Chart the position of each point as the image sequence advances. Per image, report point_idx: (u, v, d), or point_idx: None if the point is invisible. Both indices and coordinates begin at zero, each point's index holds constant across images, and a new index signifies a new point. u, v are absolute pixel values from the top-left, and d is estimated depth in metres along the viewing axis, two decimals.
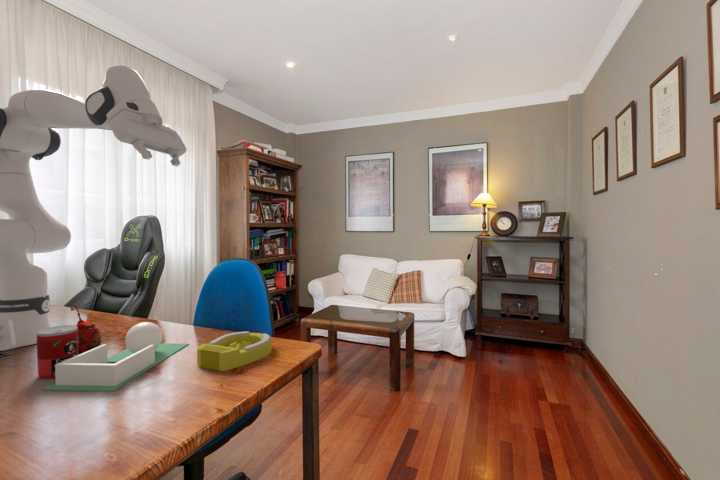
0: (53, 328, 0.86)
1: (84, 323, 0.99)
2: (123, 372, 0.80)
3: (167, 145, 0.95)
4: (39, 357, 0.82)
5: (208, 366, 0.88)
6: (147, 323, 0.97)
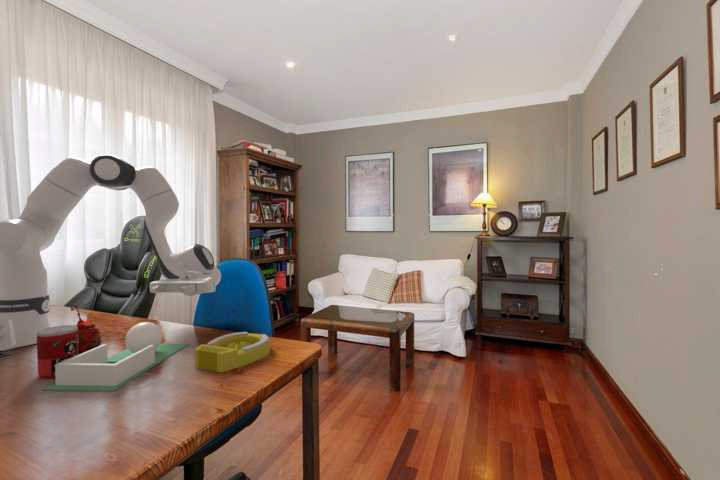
0: (53, 328, 0.86)
1: (84, 323, 0.99)
2: (123, 372, 0.80)
3: (170, 292, 1.14)
4: (39, 357, 0.82)
5: (206, 367, 0.87)
6: (147, 323, 0.97)
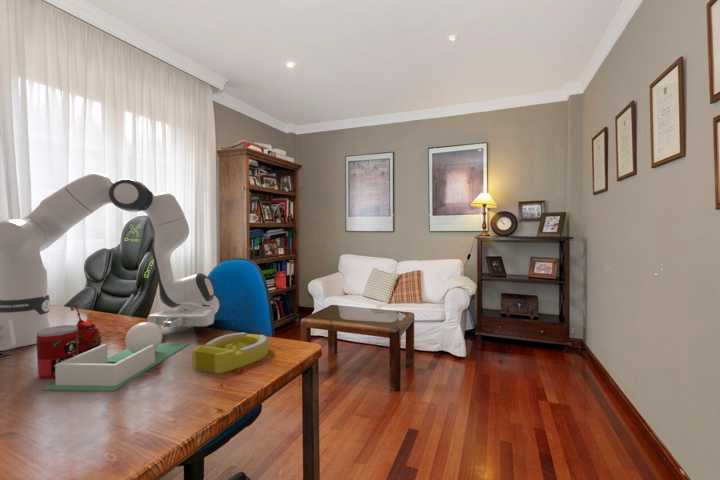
0: (53, 328, 0.86)
1: (84, 323, 0.99)
2: (123, 372, 0.80)
3: None
4: (39, 357, 0.82)
5: (203, 368, 0.86)
6: (147, 323, 0.97)
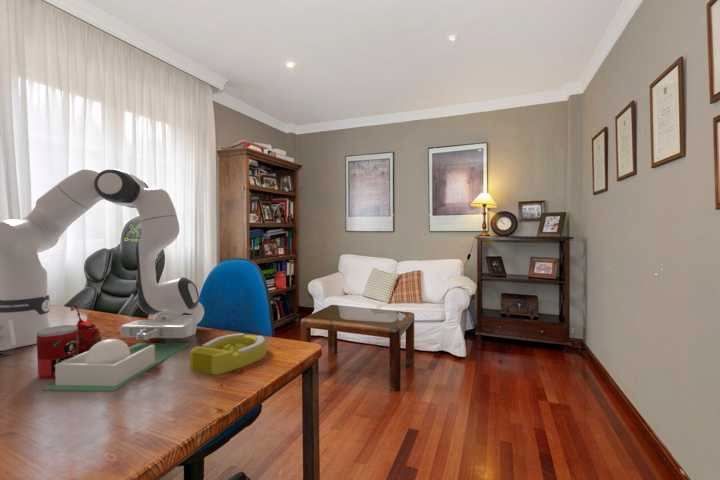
0: (53, 328, 0.86)
1: (84, 323, 0.99)
2: (123, 372, 0.80)
3: None
4: (39, 357, 0.82)
5: (200, 369, 0.86)
6: None
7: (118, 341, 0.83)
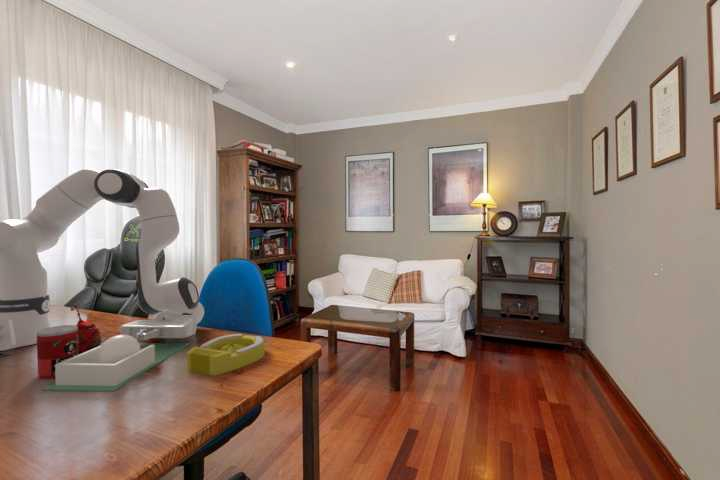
0: (53, 328, 0.86)
1: (84, 323, 0.99)
2: (123, 372, 0.80)
3: None
4: (39, 357, 0.82)
5: (198, 370, 0.85)
6: None
7: (136, 340, 0.89)
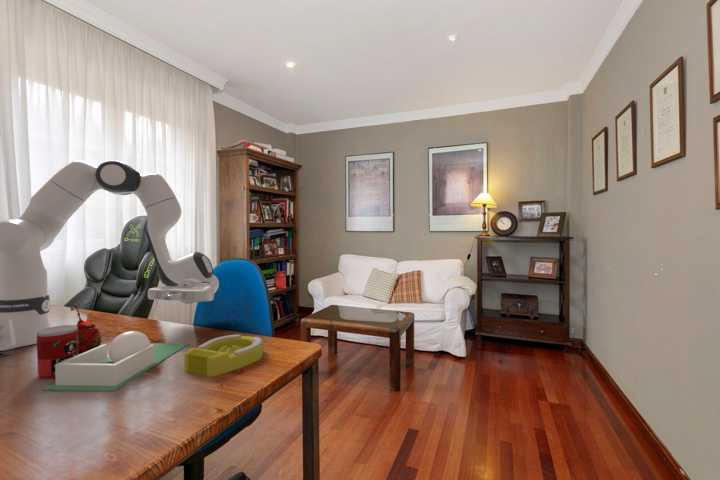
0: (53, 328, 0.86)
1: (84, 323, 0.99)
2: (123, 372, 0.80)
3: None
4: (39, 357, 0.82)
5: (196, 371, 0.84)
6: (121, 358, 0.85)
7: None
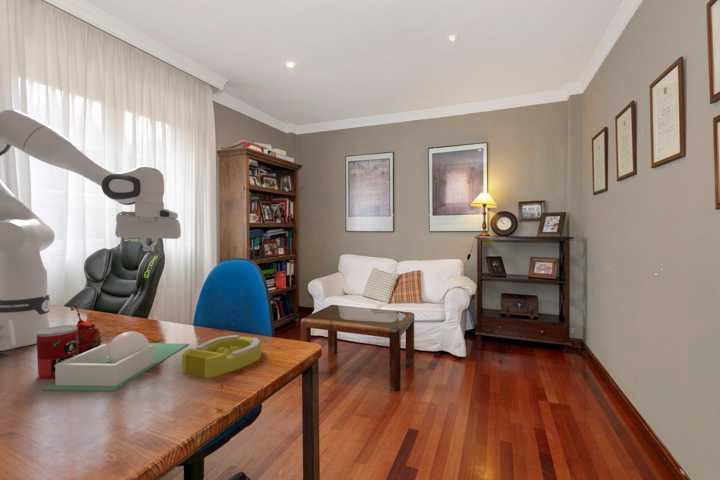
0: (53, 328, 0.86)
1: (84, 323, 0.99)
2: (123, 372, 0.80)
3: None
4: (39, 357, 0.82)
5: (193, 372, 0.84)
6: None
7: None
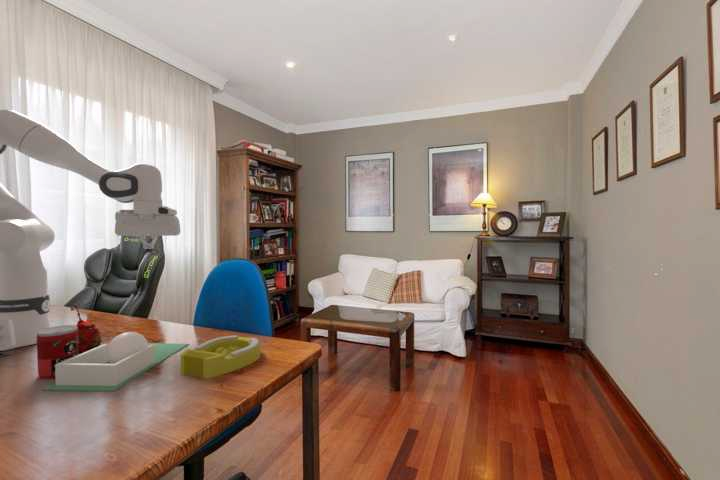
0: (53, 328, 0.86)
1: (84, 323, 0.99)
2: (123, 372, 0.80)
3: None
4: (39, 357, 0.82)
5: (192, 373, 0.83)
6: None
7: None
